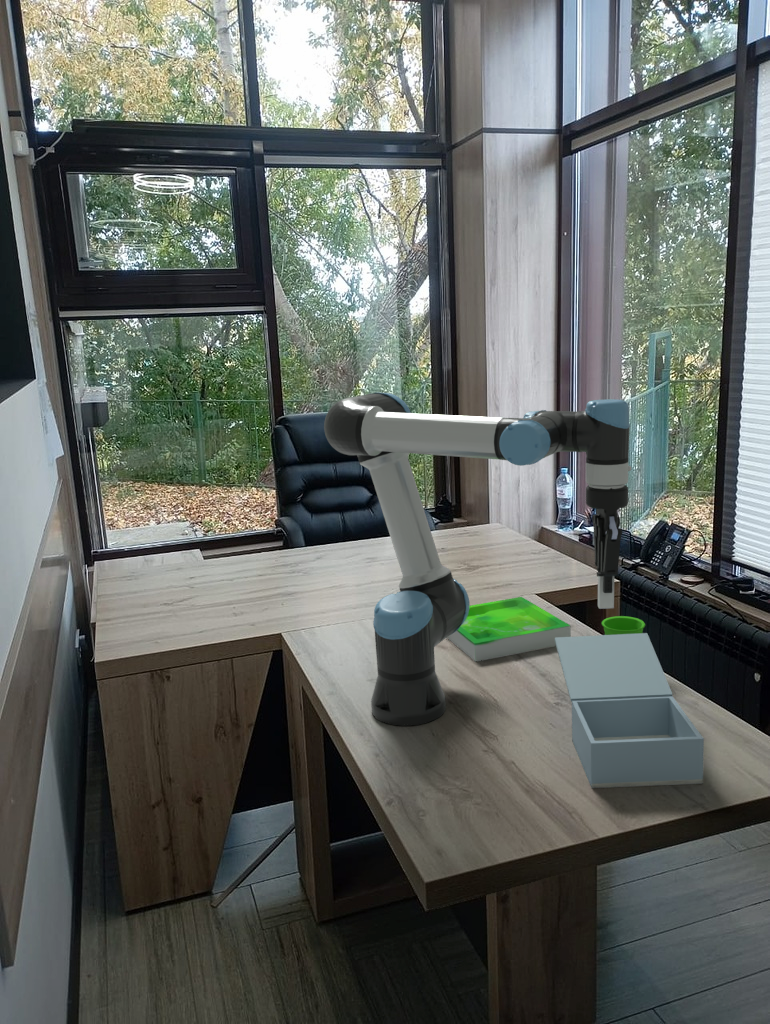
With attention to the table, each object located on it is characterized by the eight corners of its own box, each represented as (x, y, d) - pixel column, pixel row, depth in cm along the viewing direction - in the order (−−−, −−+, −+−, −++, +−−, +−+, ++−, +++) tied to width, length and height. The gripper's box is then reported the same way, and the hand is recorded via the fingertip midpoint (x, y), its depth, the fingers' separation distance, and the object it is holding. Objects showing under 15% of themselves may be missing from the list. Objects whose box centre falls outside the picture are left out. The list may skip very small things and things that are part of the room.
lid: (554, 637, 161) (554, 640, 161) (571, 698, 147) (570, 701, 147) (647, 633, 160) (646, 635, 161) (672, 694, 146) (672, 697, 146)
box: (591, 788, 133) (591, 743, 131) (572, 740, 148) (571, 700, 147) (702, 783, 132) (703, 738, 130) (671, 736, 148) (672, 695, 146)
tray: (522, 614, 218) (521, 596, 217) (570, 645, 194) (570, 625, 193) (435, 629, 210) (434, 611, 209) (475, 663, 187) (474, 643, 186)
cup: (638, 682, 171) (638, 632, 169) (596, 675, 176) (596, 627, 173) (649, 666, 178) (650, 619, 176) (609, 660, 183) (608, 613, 181)
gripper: (637, 490, 142) (635, 618, 147) (618, 477, 155) (617, 595, 160) (594, 492, 142) (593, 619, 147) (579, 479, 155) (578, 596, 160)
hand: (605, 607), depth 153 cm, fingers closed
